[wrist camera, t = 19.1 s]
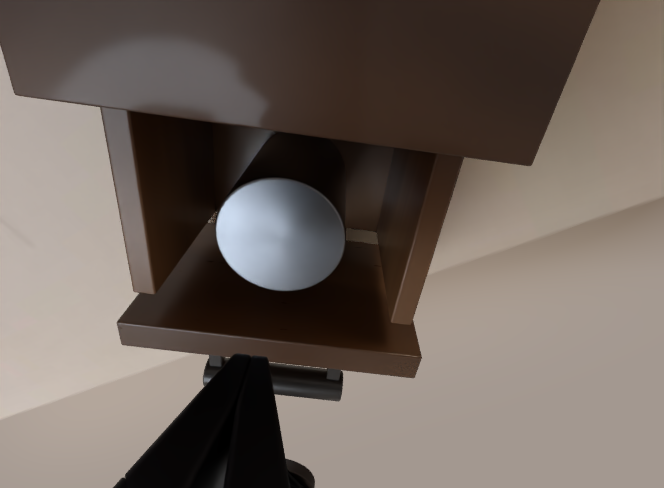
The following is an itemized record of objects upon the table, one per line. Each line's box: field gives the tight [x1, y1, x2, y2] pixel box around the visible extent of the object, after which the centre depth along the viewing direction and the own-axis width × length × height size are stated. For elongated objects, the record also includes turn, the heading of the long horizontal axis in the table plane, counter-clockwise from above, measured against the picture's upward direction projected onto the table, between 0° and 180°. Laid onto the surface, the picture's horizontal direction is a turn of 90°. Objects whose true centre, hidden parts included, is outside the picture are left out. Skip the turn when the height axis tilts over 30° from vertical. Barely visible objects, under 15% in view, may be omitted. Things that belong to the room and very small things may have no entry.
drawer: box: [100, 107, 464, 401], centre depth 15 cm, size 19×11×8 cm, turn 173°
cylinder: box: [215, 132, 346, 291], centre depth 15 cm, size 4×4×6 cm
